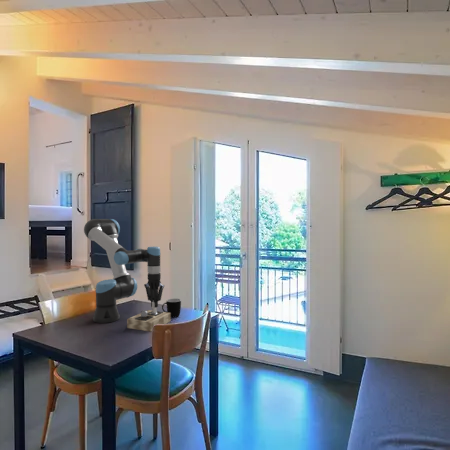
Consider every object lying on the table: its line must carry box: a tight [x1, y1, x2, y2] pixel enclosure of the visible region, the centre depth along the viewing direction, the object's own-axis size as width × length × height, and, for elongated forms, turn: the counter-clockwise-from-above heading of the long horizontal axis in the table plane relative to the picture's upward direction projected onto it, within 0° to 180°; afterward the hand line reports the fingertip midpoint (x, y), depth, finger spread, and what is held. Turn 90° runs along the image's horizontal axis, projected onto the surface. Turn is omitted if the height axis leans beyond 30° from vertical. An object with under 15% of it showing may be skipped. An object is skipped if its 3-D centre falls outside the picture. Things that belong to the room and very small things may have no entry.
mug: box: [161, 298, 182, 319], centre depth 220 cm, size 12×9×10 cm
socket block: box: [126, 309, 172, 333], centre depth 204 cm, size 16×20×5 cm
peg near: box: [140, 310, 148, 319], centre depth 199 cm, size 4×4×5 cm
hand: (154, 312), depth 208 cm, fingers closed
